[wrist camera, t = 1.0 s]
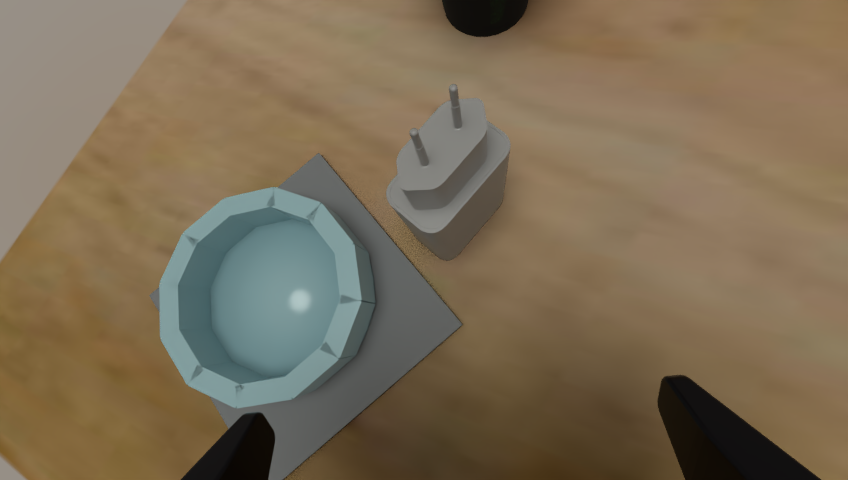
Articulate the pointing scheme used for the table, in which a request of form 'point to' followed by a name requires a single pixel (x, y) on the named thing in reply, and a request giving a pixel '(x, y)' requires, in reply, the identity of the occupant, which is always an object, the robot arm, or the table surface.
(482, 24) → the cup
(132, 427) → the table surface
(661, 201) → the table surface
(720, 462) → the robot arm
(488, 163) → the power adapter
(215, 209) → the bowl
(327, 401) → the mat
